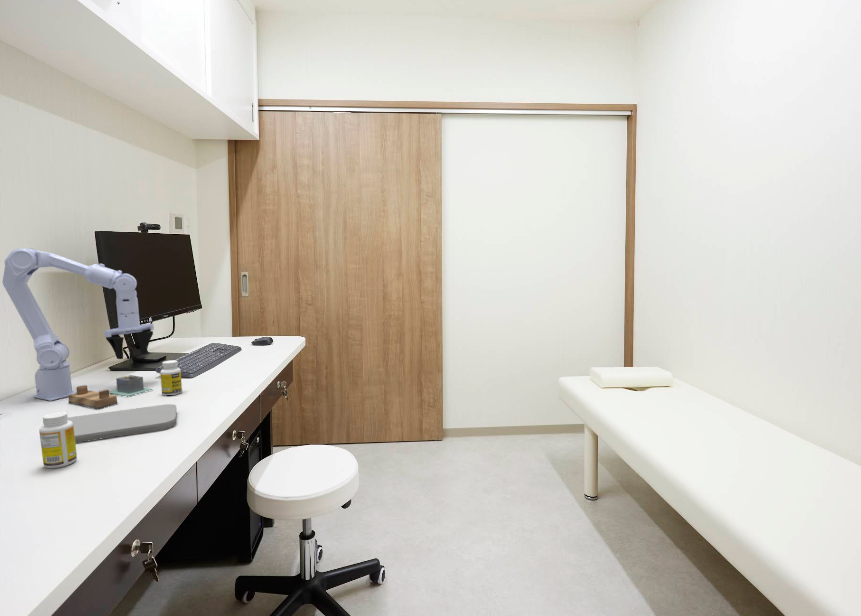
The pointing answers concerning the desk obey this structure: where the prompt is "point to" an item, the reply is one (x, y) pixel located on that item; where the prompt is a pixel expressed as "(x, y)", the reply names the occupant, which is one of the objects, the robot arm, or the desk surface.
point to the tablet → (123, 422)
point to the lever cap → (130, 384)
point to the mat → (127, 393)
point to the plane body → (92, 398)
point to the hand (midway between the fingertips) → (132, 356)
